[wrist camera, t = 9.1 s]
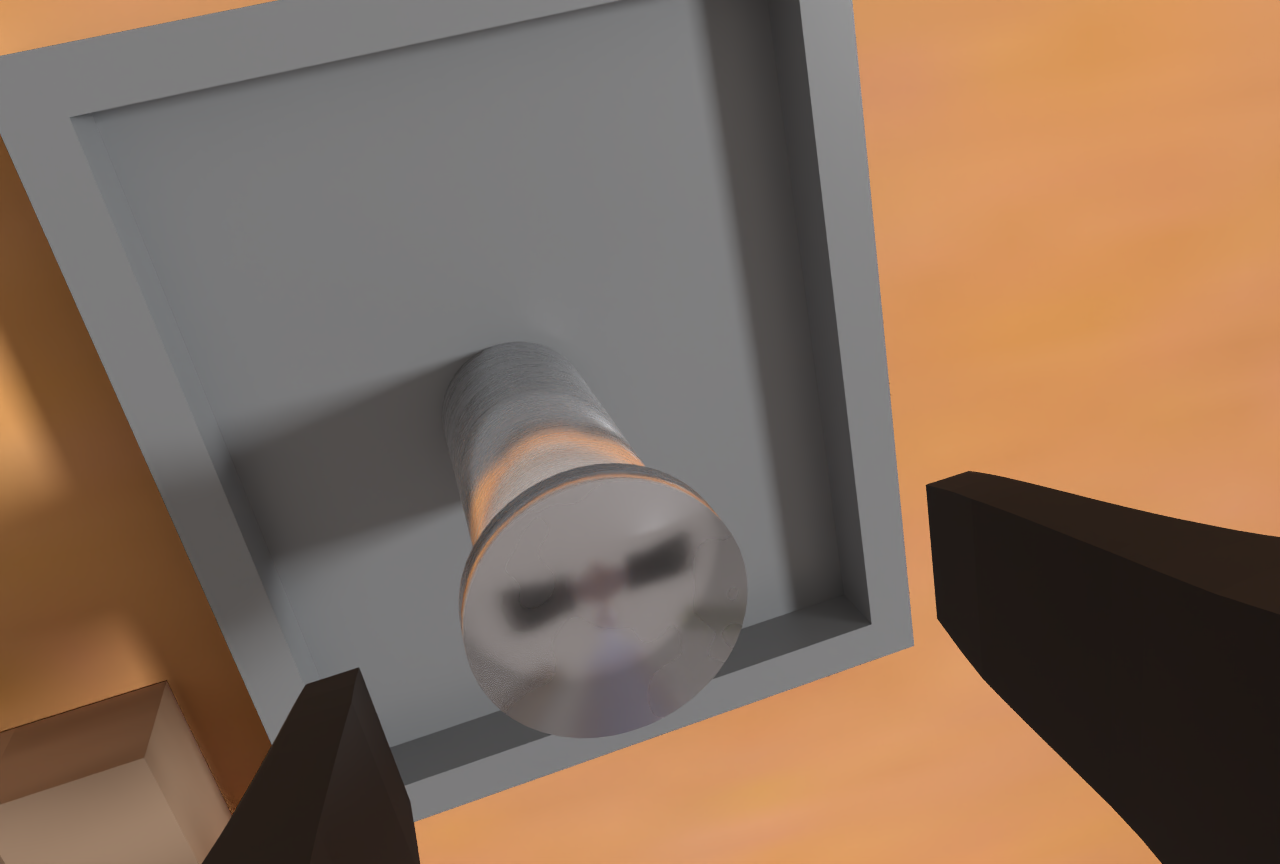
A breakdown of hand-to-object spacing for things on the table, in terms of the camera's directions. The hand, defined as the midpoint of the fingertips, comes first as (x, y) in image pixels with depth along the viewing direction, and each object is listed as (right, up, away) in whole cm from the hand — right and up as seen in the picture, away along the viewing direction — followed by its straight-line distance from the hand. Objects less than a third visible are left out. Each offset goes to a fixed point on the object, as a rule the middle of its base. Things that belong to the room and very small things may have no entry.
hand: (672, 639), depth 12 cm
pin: (-3, +3, +8) cm, 9 cm away
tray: (-3, +3, +9) cm, 10 cm away
